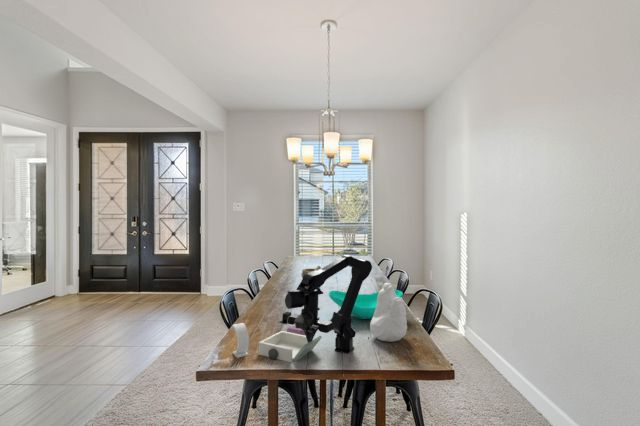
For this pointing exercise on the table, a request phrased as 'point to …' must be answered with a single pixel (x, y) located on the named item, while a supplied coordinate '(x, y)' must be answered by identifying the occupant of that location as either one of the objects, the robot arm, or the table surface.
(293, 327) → the dome-topped mauve block
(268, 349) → the wagon bed
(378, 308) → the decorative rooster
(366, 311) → the table top decor
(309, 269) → the tankard
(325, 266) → the robot arm
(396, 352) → the table surface
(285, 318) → the black grey mechanical block
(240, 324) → the headphone stand
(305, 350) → the panel
